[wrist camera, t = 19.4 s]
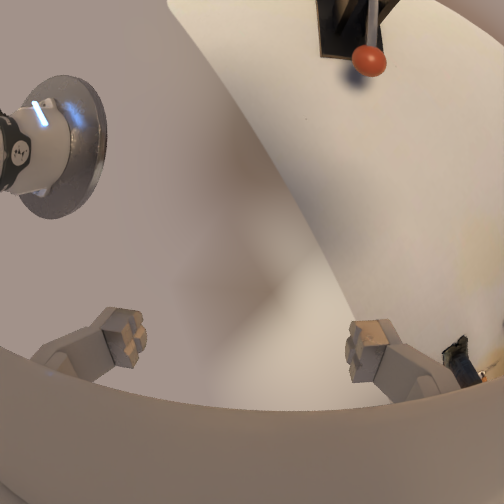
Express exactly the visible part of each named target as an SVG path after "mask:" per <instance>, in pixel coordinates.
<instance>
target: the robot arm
mask: <svg viewBox="0 0 504 504" xmlns="http://www.w3.org/2000/svg"><path fill="white" fill-rule="evenodd" d="M32 104H33V106H31V107H22V108H19V110H18V111H15V112H14V113H13V114H11V115H10V116H6V114H5V113H4V114H3V113H2V112H1V110H0V192H2V191H7V192H11V194H14V195H21V194H25V193H30V192H31V193H33V194H35V195H37V196H39V197H46V196H47V195H48V193H49V191H50V189H51V186H52V185H53V184H54V183H55V182H56V181H57V180H58V179H59V177H60V176H61V175H62V173H63V171H64V169H65V167H66V165H67V162H68V158H69V153H70V131H69V127H68V123H67V121H66V119H65V117H64V116H63V115H62V114H61V113H60V112H59V110H58V109H57V106H56V102H55V100H54V98H47V99H45V100H43V101H41V102H39V103H37V101H33V102H32ZM142 322H143V317H142V313H141V312H140V311H135V310H128V309H122V308H115V307H107V308H105V310H104V311H103V312H102V313H101V314H100V315H99V316H98V317H97V318H96V320H95V321H94V322H93V323H92V324H91V325H90V326H89V327H84V328H82V329H79V330H77V331H75V332H72V333H70V334H68V335H65V336H63V337H61V338H58V339H56V340H53V341H51V342H49V343H47V344H44V345H42V346H41V347H40V349H39V350H38V351H37V352H36V353H35V354H34V355H33V357H32V358H31V359H30V360H29V359H26V358H24V357H22V356H19V355H17V354H15V353H13V352H11V351H9V350H7V349H5V348H3V347H1V346H0V504H504V375H503V376H501V377H498V378H495V379H492V380H489V381H486V382H483V383H480V384H477V385H474V386H470V387H467V388H463V389H461V387H460V386H459V384H458V382H457V380H456V378H455V377H454V375H453V373H452V372H451V370H450V369H448V368H446V367H445V366H443V365H441V364H440V363H438V362H436V361H435V360H433V359H431V358H430V357H428V356H426V355H425V354H423V353H421V352H420V351H418V350H416V349H415V348H413V347H411V346H410V345H408V344H403V343H402V341H401V339H400V337H399V336H398V334H397V332H396V330H395V328H394V327H393V325H392V323H391V321H390V320H389V319H380V320H368V321H352V322H351V324H350V328H349V331H350V334H351V336H350V337H349V338H348V339H347V341H346V346H345V357H346V361H347V363H348V364H349V365H350V369H349V372H350V376H351V380H352V383H360V382H373V383H374V384H375V385H376V386H377V387H378V388H379V389H380V390H381V391H382V392H383V393H384V394H385V395H386V396H387V397H389V398H390V399H391V400H392V401H393V402H394V404H387V405H380V406H373V407H363V408H353V409H342V410H325V411H258V410H242V409H229V408H218V407H209V406H201V405H193V404H186V403H180V402H174V401H168V400H162V399H157V398H152V397H147V396H142V395H138V394H133V393H129V392H124V391H121V390H116V389H113V388H109V387H106V386H102V385H98V384H95V383H92V382H93V381H95V380H96V379H98V378H99V377H101V376H102V375H104V374H105V373H106V372H108V371H109V370H111V369H112V368H113V367H115V366H120V367H126V368H131V369H133V368H134V366H135V364H136V363H137V361H138V359H139V356H138V353H140V352H142V351H143V350H144V348H145V347H146V342H147V333H146V329H145V328H144V327H143V326H142V324H141V323H142Z"/></svg>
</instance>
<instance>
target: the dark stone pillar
mask: <svg viewBox="0 0 504 504" xmlns="http://www.w3.org/2000/svg"><path fill="white" fill-rule="evenodd" d="M467 342H468V338H466V337H462V338H460V340H459V342H458V343H459V344H460V346H457V347H455V345H454V346H452V347H449V349H448V350H447V351H446V352H445V353H442V354H443V355H444V358H443V359H444V360H443V361H444V364H443V365H444V366H445V367H446V368H448V369H450V370H451V372H452V373H453V374H454V376H455V378H456V380H457V382H458V384H459V386H460V387H461V389H463V388H467V387H470V386H474V385H477V384H480V383H482V380H481V378H480V377H479V375H478V373H477V372H476V370H475V368H474V367H473V365H472V363H471V362H470V360H469V356H468V349H467Z"/></svg>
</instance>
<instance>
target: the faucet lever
mask: <svg viewBox="0 0 504 504" xmlns="http://www.w3.org/2000/svg"><path fill="white" fill-rule="evenodd" d="M377 26H378V0H366V31H365V45H362V46H359V47H357V48H356V49H355V50H354V52H353V54H352V63H353V65H354V67H355V69H356V70H357V71H358V72H359V73H361V74H362V75H365V76H368V77H376V76H379V75H380V74H382V73H383V72H384V71H385V69H386V65H387V62H386V58H385V55H384V54H383V52H382V51H381V50H380V49H378V48H377V47H376V43H377Z"/></svg>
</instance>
